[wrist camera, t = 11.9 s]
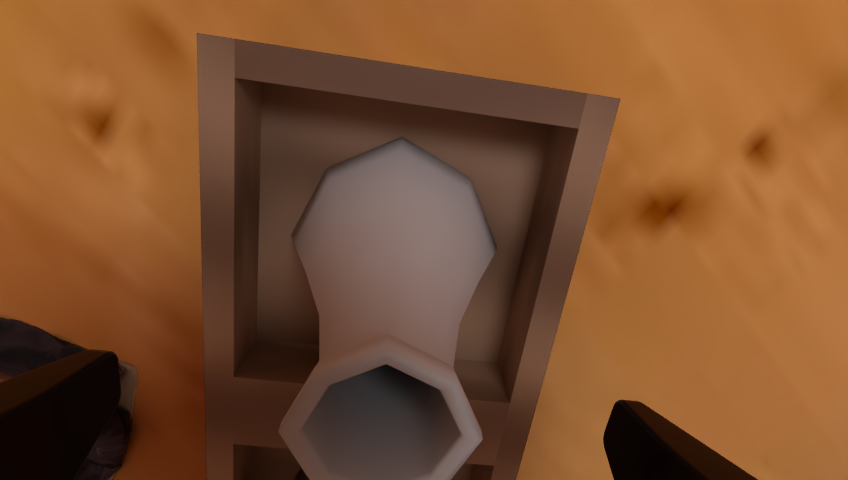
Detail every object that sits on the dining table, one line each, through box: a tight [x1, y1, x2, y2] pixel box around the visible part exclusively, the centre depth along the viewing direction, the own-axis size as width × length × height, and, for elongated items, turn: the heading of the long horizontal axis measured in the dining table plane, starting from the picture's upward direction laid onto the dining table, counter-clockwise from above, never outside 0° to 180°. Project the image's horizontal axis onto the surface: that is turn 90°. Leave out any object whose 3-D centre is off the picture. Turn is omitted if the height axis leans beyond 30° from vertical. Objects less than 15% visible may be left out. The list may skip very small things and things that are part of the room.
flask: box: [278, 137, 497, 480], centre depth 12 cm, size 7×7×10 cm
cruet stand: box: [197, 33, 620, 480], centre depth 15 cm, size 25×12×10 cm, turn 172°
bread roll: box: [0, 318, 138, 480], centre depth 19 cm, size 11×8×4 cm
